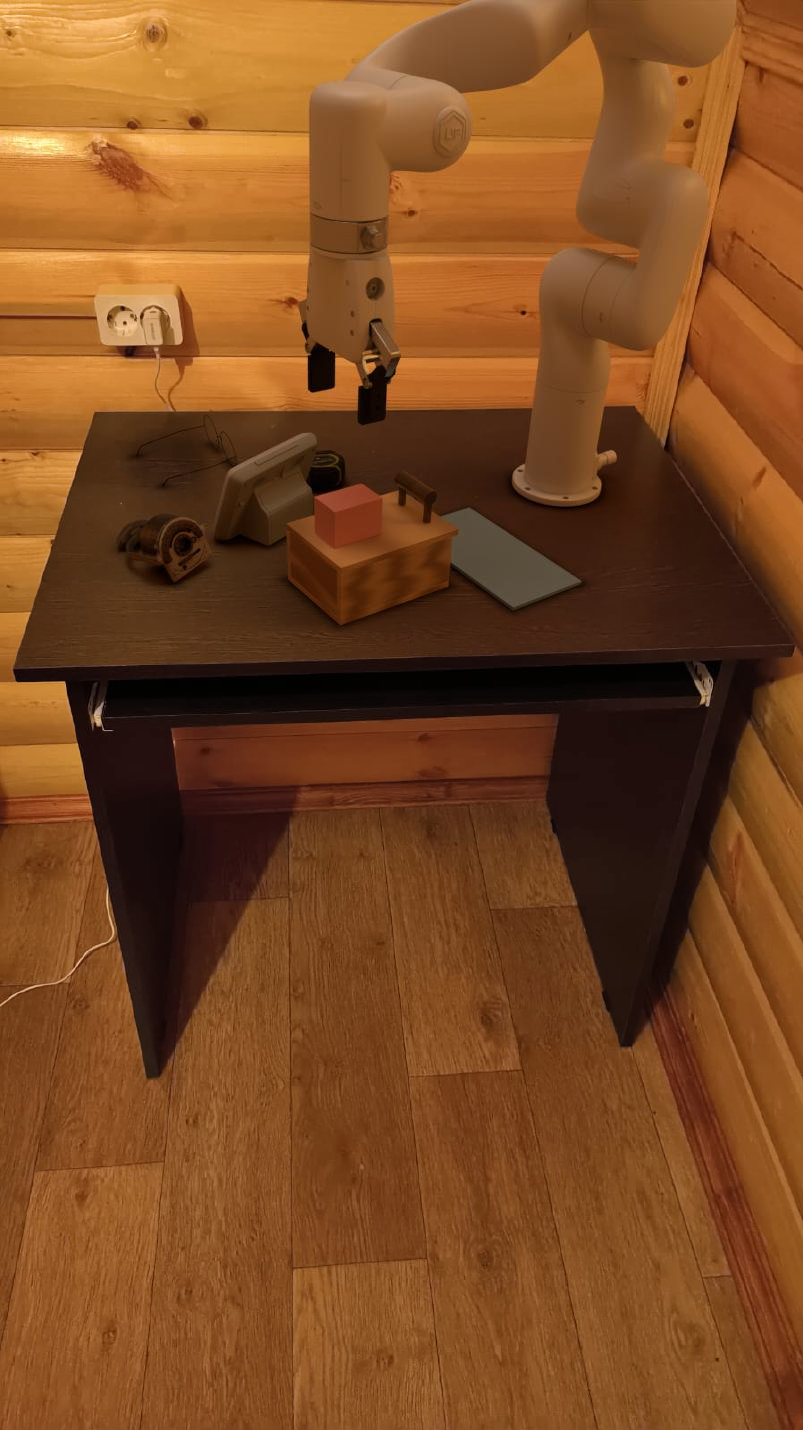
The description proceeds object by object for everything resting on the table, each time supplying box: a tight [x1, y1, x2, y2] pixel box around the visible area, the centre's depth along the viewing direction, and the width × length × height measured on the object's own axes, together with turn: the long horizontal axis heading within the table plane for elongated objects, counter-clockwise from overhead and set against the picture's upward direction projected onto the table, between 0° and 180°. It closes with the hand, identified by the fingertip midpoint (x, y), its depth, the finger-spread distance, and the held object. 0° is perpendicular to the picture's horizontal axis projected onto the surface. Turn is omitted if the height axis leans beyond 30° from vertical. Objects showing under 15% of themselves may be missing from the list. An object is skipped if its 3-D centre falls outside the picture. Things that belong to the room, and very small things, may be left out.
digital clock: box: [212, 432, 319, 547], centre depth 130 cm, size 16×9×11 cm, turn 133°
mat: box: [440, 507, 582, 612], centre depth 129 cm, size 11×22×1 cm, turn 36°
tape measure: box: [306, 449, 346, 489], centre depth 142 cm, size 7×7×4 cm
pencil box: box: [286, 530, 453, 626], centre depth 121 cm, size 16×12×7 cm
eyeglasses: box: [135, 414, 237, 488], centre depth 144 cm, size 11×13×5 cm
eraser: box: [313, 482, 383, 549], centre depth 116 cm, size 6×4×5 cm, turn 126°
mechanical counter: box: [116, 513, 213, 583], centre depth 123 cm, size 7×13×10 cm
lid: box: [286, 470, 458, 574], centre depth 118 cm, size 16×12×5 cm
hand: (345, 405), depth 109 cm, fingers open, 9 cm apart
